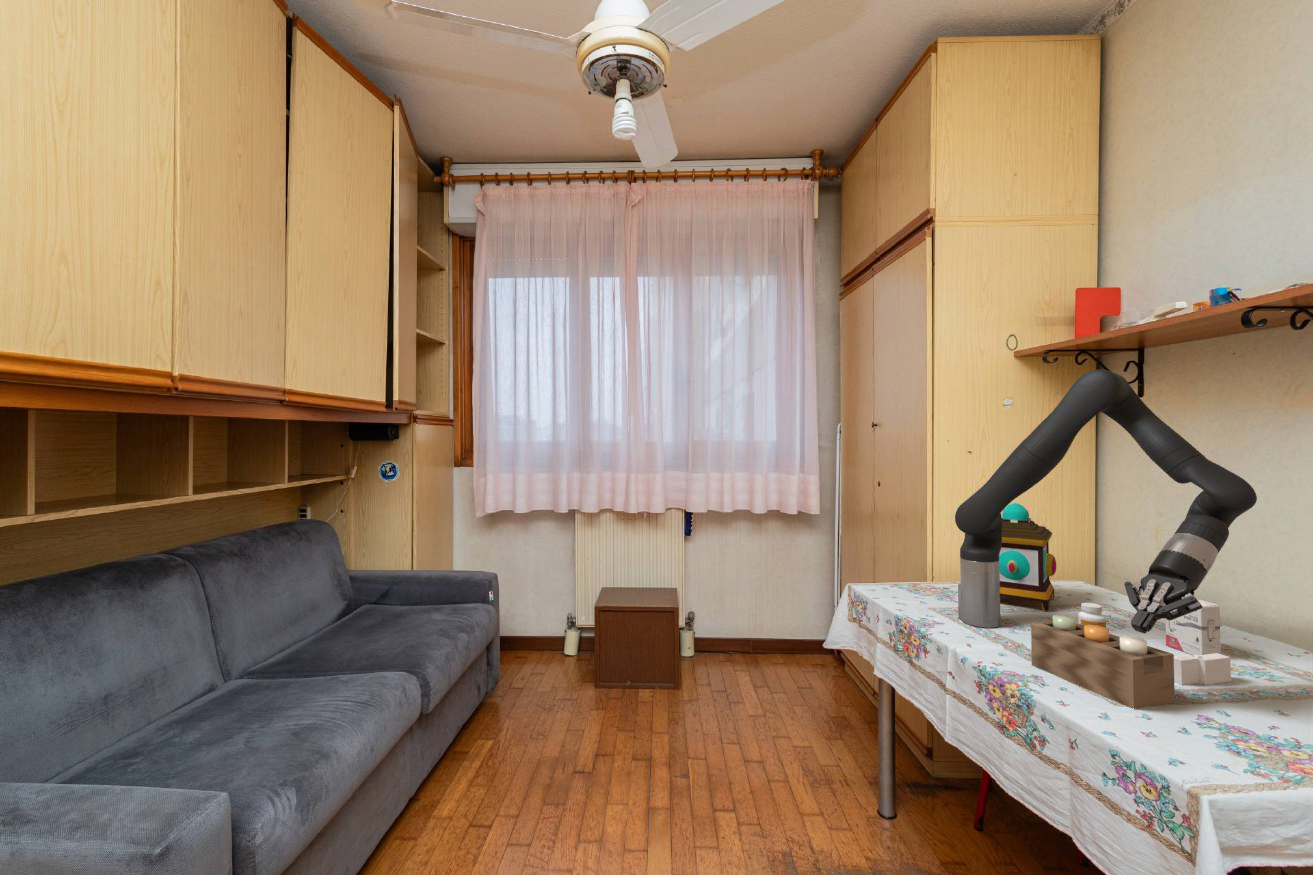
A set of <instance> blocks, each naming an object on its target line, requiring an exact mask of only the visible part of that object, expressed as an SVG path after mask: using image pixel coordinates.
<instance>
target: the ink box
mask: <svg viewBox="0 0 1313 875" xmlns="http://www.w3.org/2000/svg"><path fill="white" fill-rule="evenodd" d="M1196 599H1197V600H1198V601H1199V602H1200V604H1201V605H1202V608H1201V609H1199V610H1197V611H1194V612H1191V613H1189V614H1186V615H1184V616H1181V617H1178V618H1176V619H1173V620H1167V619H1166V618H1165V645H1166V646H1167V647H1170V648H1172V649H1175V650H1178V651H1181V652H1184V653H1186V654H1189V655H1192V656H1193V655H1206V654H1213V653H1218V654H1221V655H1222V653H1221V651H1222V648H1221V614H1220V613H1221V612H1220V611H1221V610H1220V609H1221V608H1220V605H1219V604H1217V603H1212V602H1210V601H1207V600H1202V599H1198V598H1196ZM1176 610H1177V609H1176ZM1176 610H1173V611H1176ZM1173 611H1171V612H1173ZM1171 612H1170V613H1171Z"/></svg>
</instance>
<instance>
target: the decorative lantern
mask: <svg viewBox="0 0 1313 875" xmlns="http://www.w3.org/2000/svg"><path fill="white" fill-rule="evenodd" d="M1001 516H1002V546H1001V550H1000V554H999V572H1000V597H1006V598H1013V599H1019V600H1026V601H1032V602H1039V603H1041V606H1042V610H1043V612H1045V613H1047V612H1048V611H1049V608H1050V601H1051V600H1053V599H1054V598H1055V588H1054V586H1053V584H1052V582H1051V580H1050V577H1053V576H1054V575H1055V574H1056V573H1057V560H1056V558H1055V556H1054V554H1051V553H1049V552H1050V550H1049V547H1050V546H1049V544H1050V543H1049V542H1050V540H1051V538H1052V536H1053V533H1052V531H1050V529H1049V528H1047V527H1046V526H1045V525H1044V526H1043V525H1039V524H1038V523H1036V522H1035V521H1034V520H1032V519H1031V517H1030V513H1029V510H1028V509H1026V507H1025V506H1024V505H1022V504H1020V503H1017V502H1013V503H1012V502H1011V503H1009V504H1008V505H1007V506H1006V507H1005V508H1004V510H1003V511H1002V512H1001Z"/></svg>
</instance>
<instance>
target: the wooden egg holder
mask: <svg viewBox="0 0 1313 875" xmlns="http://www.w3.org/2000/svg"><path fill="white" fill-rule="evenodd" d="M1030 635H1031V636H1030V637H1031V638H1030V639H1031V640H1030V641H1031V643H1030V644H1031V646H1030V647H1031V648H1030V649H1031V666H1033V667H1035V668H1037V669H1039V670H1043V671H1044V672H1046V673H1049V674H1051V675H1054V676H1056V677H1059V678H1060V679H1063V680H1065V681H1067V682H1070V683H1072V684H1074V685H1077V686H1080V687H1082V688H1084V689H1086V690H1089V691H1091V692H1094V693H1095V694H1098V695H1100V696H1103V697H1104V698H1107V699H1109V700H1112V701H1114V702H1117V703H1119V704H1122V705H1123V706H1125V707H1128V708H1130V709H1133V708H1134V709H1133V710H1136V709H1135V708H1137V709H1143V708H1148V706H1149V707H1153V706H1160V705H1167V704H1171V703H1170V702H1173V703H1175V702H1176V701H1175V700H1176V698H1175V697H1176V696H1175V693H1176V692H1175V682H1174V656H1175V654H1174V653H1171V652H1168V651H1166V650H1162V649H1159V648H1156V647H1153V646H1150V645H1147V655H1142V656H1135V655H1132V654H1130V653H1127V652H1124V651H1121V650H1120V637H1121V636H1120V635H1115V634H1112V633H1109V642H1104V643H1098V642H1095V641H1092V640H1089V639H1086V638H1084V625H1081V624H1078V622H1076V631H1067V632H1065V631H1063V630H1060V629H1057V628H1054V627H1053V621H1046V622H1036V623H1030ZM1142 707H1143V708H1142Z"/></svg>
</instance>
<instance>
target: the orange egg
mask: <svg viewBox="0 0 1313 875" xmlns="http://www.w3.org/2000/svg"><path fill="white" fill-rule="evenodd" d="M1109 634H1110V629H1109V628H1107V627H1106V628H1105V627H1102V626H1097V625H1085V626H1084V638H1086V639H1089V640H1092V641H1095V642H1098V643H1104V642H1109Z"/></svg>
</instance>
